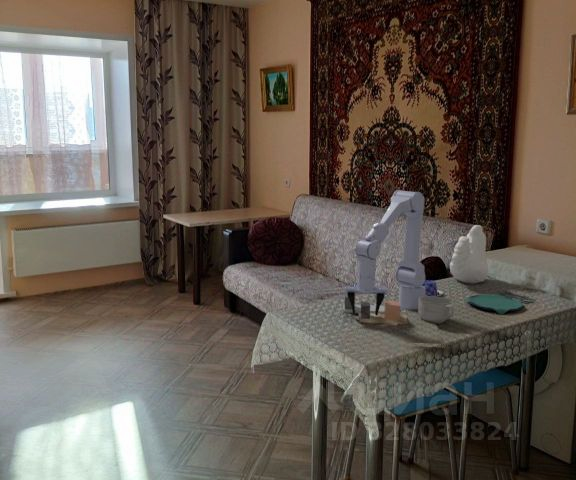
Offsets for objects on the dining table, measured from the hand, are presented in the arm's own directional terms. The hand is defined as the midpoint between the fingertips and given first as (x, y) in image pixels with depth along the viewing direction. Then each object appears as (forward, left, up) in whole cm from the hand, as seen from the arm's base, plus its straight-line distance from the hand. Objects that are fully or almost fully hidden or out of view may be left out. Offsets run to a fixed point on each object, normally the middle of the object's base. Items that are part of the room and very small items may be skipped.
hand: (365, 314), depth 198 cm
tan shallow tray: (-6, 0, -2) cm, 6 cm away
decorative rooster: (-45, -60, -3) cm, 75 cm away
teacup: (-24, -3, -3) cm, 25 cm away
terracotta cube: (-9, 0, -1) cm, 9 cm away
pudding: (-27, -40, -3) cm, 48 cm away
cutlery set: (-53, -29, -4) cm, 61 cm away
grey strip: (0, -10, -2) cm, 10 cm away
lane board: (-2, -5, -3) cm, 6 cm away
